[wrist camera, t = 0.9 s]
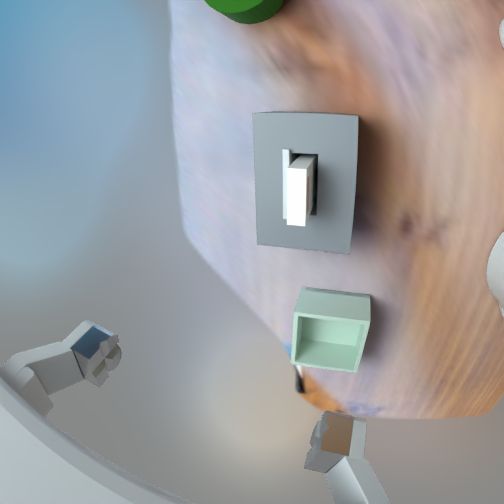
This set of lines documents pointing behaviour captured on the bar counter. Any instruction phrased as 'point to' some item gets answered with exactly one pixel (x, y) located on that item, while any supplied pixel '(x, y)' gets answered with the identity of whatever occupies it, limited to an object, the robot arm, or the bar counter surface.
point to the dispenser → (329, 178)
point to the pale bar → (301, 188)
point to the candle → (246, 9)
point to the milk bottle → (501, 33)
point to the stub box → (330, 329)
